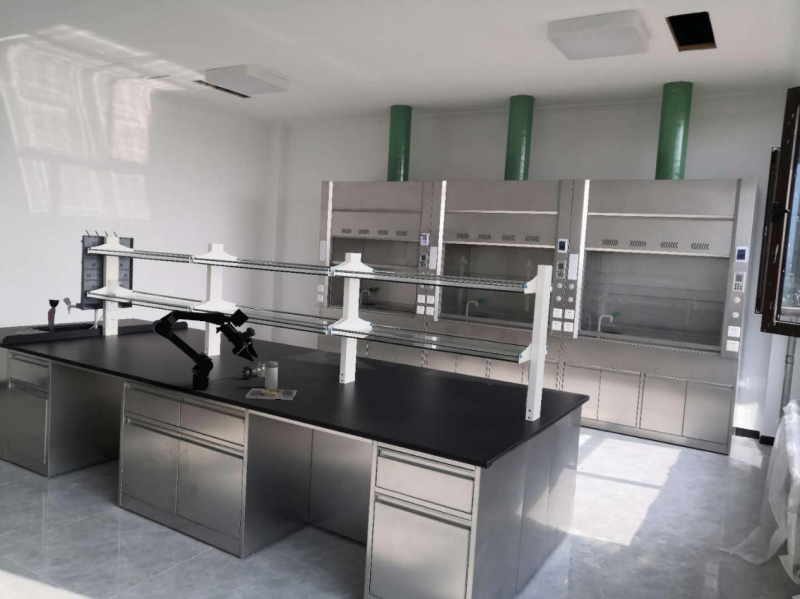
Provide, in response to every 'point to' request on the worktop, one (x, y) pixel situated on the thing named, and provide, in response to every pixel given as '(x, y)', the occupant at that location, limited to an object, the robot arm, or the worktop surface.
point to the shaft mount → (271, 394)
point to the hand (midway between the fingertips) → (255, 359)
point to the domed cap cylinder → (271, 374)
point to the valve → (254, 371)
